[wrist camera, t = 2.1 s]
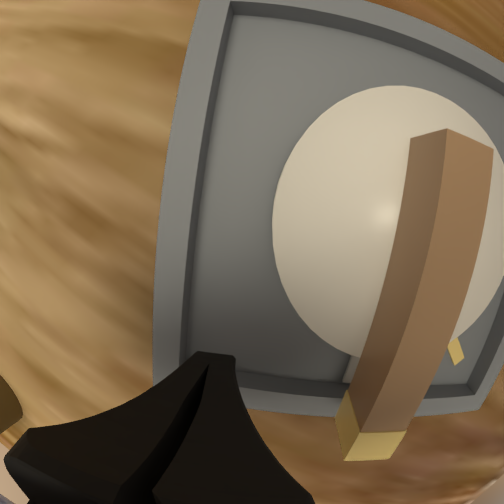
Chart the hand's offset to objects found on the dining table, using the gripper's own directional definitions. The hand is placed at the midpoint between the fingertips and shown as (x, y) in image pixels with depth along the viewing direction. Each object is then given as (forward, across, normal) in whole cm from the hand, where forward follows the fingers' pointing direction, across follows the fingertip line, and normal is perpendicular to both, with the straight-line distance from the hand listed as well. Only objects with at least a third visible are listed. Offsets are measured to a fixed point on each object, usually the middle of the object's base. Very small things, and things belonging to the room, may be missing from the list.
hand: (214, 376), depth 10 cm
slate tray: (+4, -6, -6) cm, 10 cm away
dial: (+3, -6, -4) cm, 8 cm away
